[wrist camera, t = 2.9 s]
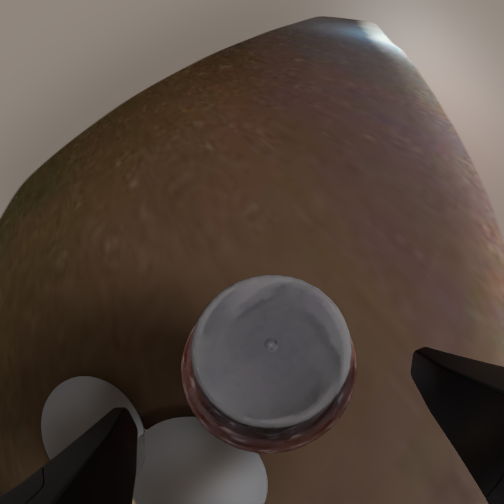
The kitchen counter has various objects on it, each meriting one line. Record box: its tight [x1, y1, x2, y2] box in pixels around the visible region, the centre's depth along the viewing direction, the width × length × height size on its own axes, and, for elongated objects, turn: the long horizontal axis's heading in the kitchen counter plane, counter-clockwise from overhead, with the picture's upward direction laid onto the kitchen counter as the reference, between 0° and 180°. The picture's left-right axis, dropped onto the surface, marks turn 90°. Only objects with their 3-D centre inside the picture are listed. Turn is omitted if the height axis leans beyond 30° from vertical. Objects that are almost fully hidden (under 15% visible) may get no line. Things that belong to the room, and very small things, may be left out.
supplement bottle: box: [181, 275, 357, 453], centre depth 12 cm, size 6×6×11 cm
